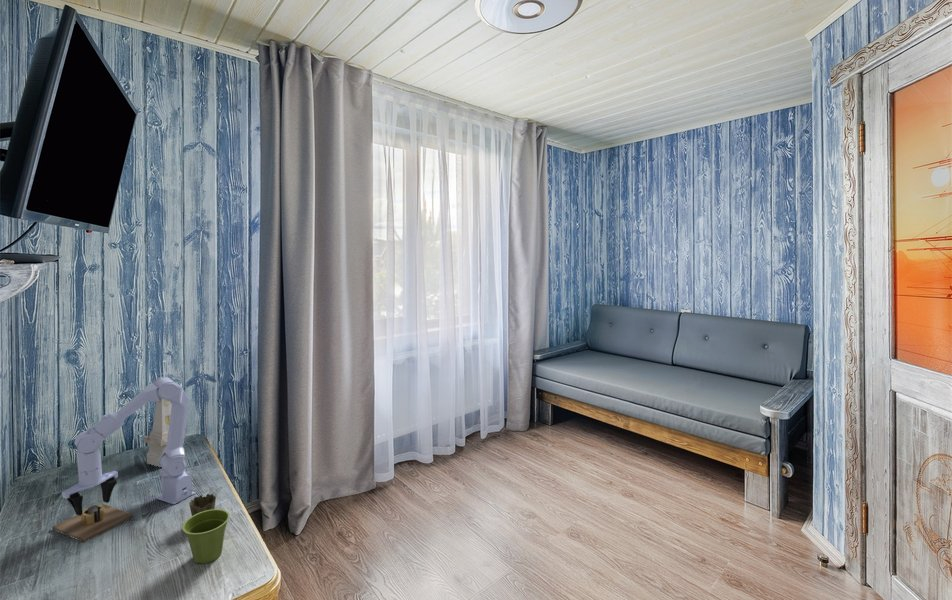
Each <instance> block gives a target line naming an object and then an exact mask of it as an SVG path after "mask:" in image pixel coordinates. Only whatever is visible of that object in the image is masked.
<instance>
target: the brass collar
mask: <svg viewBox="0 0 952 600" xmlns="http://www.w3.org/2000/svg"><path fill="white" fill-rule="evenodd" d="M97 506H98V512H99V517H100V521H101V520H104V518H105V506H102V505H101V504H98V505H97ZM88 508H89V507H87V508H84V510H83V509H82V511H83V512H82V515H81V524H82V525H84V526H89V525H94V524H95V513H91V514H88Z"/></svg>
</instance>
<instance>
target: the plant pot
mask: <svg viewBox="0 0 952 600" xmlns="http://www.w3.org/2000/svg"><path fill="white" fill-rule="evenodd" d="M229 520H230V513H229V512H228V511H227V510H225V509H222V508H221V509H220V508H215V509H212V510H206V511H203V512H200V513H197V514H195V515H193V516H192V515H191V516H190V517H189V518H187V519H186V520H185V521H184V522H183V524H182V527H181V528H182V529H181V530H182V531H183V532H184V533H185V535H186V538H187V540H188V544H189V547H190V551H191V555H192V558H193V561H194V563H195V564H208V563H211V562H213V561H215V560H217V559H218V558H219V557H220V555H221V554H223V553H222V552H223V549H224V547H223V546H224V540H225V533H226V528H227V524H228V521H229Z"/></svg>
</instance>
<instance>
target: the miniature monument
mask: <svg viewBox="0 0 952 600" xmlns="http://www.w3.org/2000/svg"><path fill="white" fill-rule="evenodd" d="M159 400H160V401H155V408H154V416H153V424H152V430H151V431H150V432H149V433H150V434H148V435H144V436H143V442H144V443H147V444H148V452H147V453H146V462H147V463H146V464H147V465H150V464H151V466H153V465H154V466H153V467H157V466H158V468H160V467H161V466H160V465H159V460H160V458H161V456H162V455H163V451H164V449H165V447H166V445H167V438H168V430H169V423H170V416H171V408H172V403H171V402H170V401H168V400H164V399H162V398H161V397H159ZM184 438H187V431H186V430H185V436H184ZM183 450H184V454H185V455H186V448H184V447H183ZM184 458H185V459H186V456H185V457H184Z"/></svg>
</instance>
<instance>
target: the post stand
mask: <svg viewBox="0 0 952 600" xmlns="http://www.w3.org/2000/svg"><path fill="white" fill-rule="evenodd" d="M100 505H102V506H105V518H104V520H101V521H100V517H99V512H98V506H97V505H92V506H91V505H90V506H88V507H87V508H88V514H91V513H95V524H94V525H89V526H84V525H82V524H81V515H80V516H79V515H75V516H73V517H70V518H68V519H66V520H64V521H62V522H59V523H57V524H55V525H53V526H51V528H52V529H51V530H53V529H54V530H53V531H55V530H57V531H59V532H58V533H60V532H62V533H64V534H63V535H65V534H67V535H69V536H68V537H70V536H72V537H74V538H77V539H79V540H81V541H80V542H82V541H85V542H87V541H89V540H91V539H93V538H95V537H97V536H99V535H101V534H103V533H105V532H107V531H109V530H111V529H112V528H114V527H116V526H118V525H120V524H123V523H124V522H126V521H128V520H131V519H132V518H134V514H133V513H131V512H128V511H125V510H121V509H119V508H116V507H113V506H110V505H108V504H105V503H101V504H100ZM57 531H56V532H57ZM62 533H61V534H62ZM67 535H66V536H67ZM72 537H71V538H72ZM74 538H73V539H74ZM77 539H76V540H77ZM88 539H89V540H88ZM79 540H78V541H79ZM86 540H87V541H86Z"/></svg>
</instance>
